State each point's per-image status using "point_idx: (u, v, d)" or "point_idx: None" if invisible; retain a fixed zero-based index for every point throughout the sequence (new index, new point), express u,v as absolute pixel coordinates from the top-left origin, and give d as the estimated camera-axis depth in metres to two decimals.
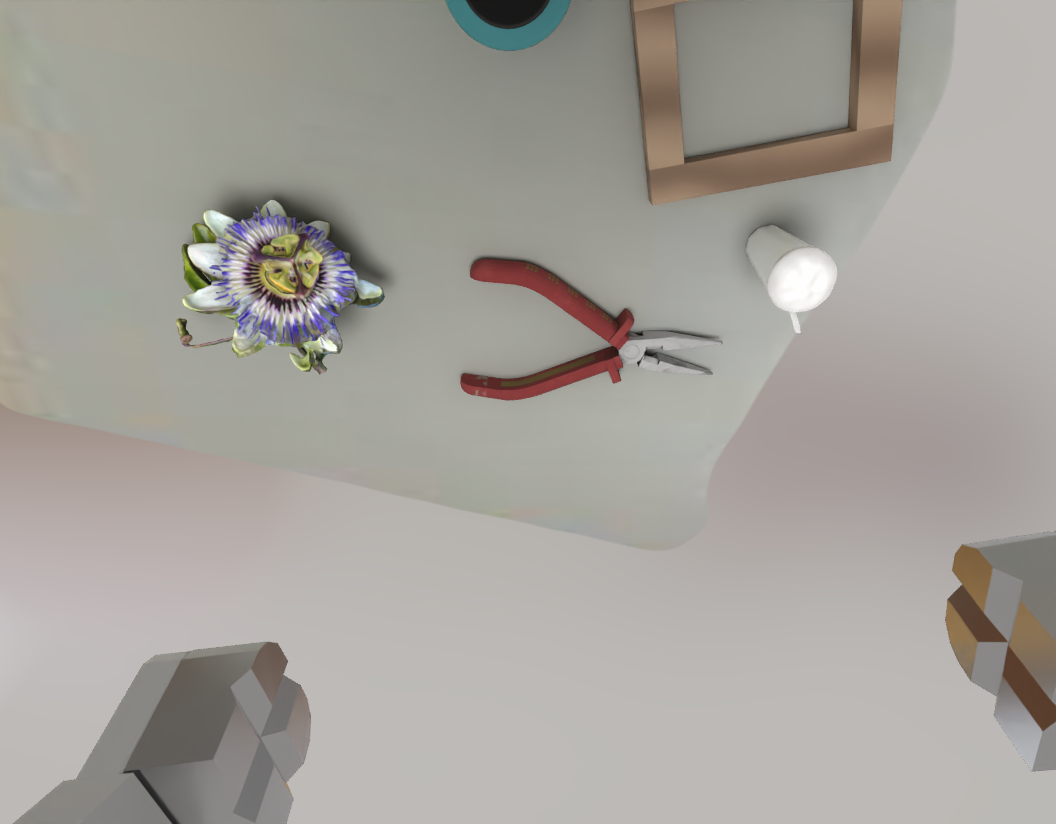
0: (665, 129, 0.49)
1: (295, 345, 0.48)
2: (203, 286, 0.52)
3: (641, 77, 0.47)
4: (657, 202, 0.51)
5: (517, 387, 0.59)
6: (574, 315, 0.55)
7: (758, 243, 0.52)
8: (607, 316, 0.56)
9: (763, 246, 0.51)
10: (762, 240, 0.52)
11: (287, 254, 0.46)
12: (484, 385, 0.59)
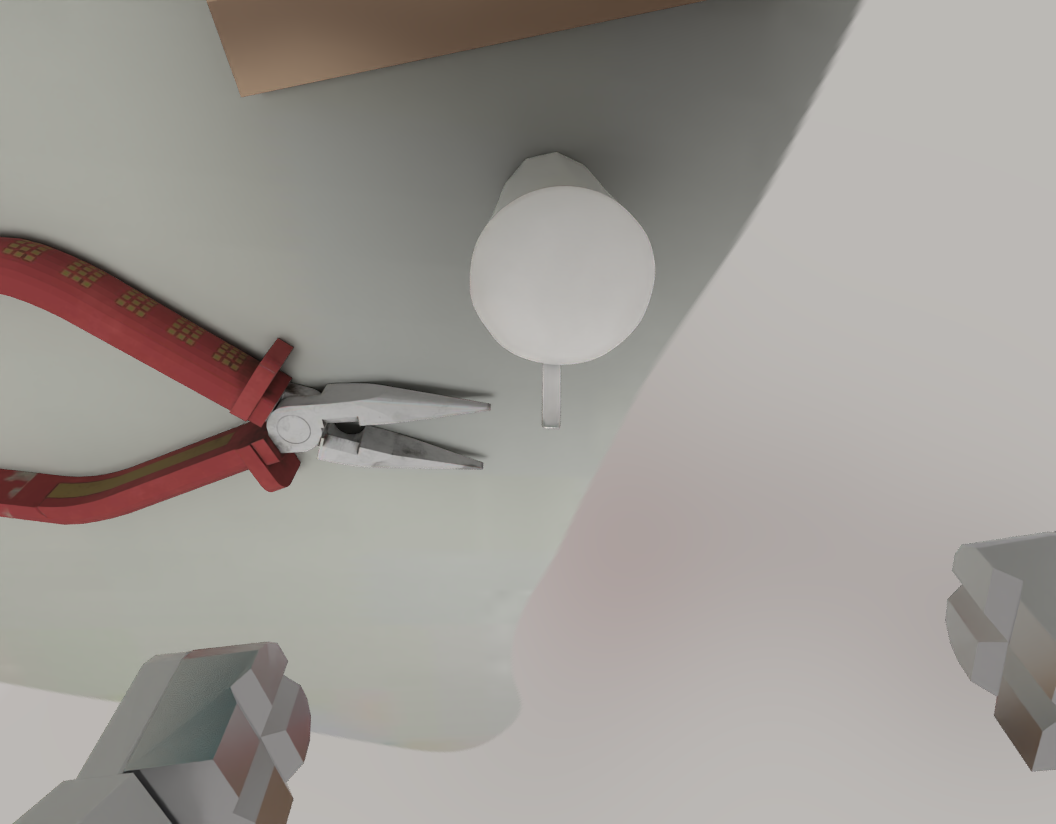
0: None
1: None
2: None
3: None
4: (251, 90, 0.21)
5: (77, 500, 0.28)
6: (139, 356, 0.25)
7: (504, 191, 0.22)
8: (229, 355, 0.26)
9: (504, 196, 0.21)
10: (512, 183, 0.21)
11: None
12: (7, 496, 0.28)
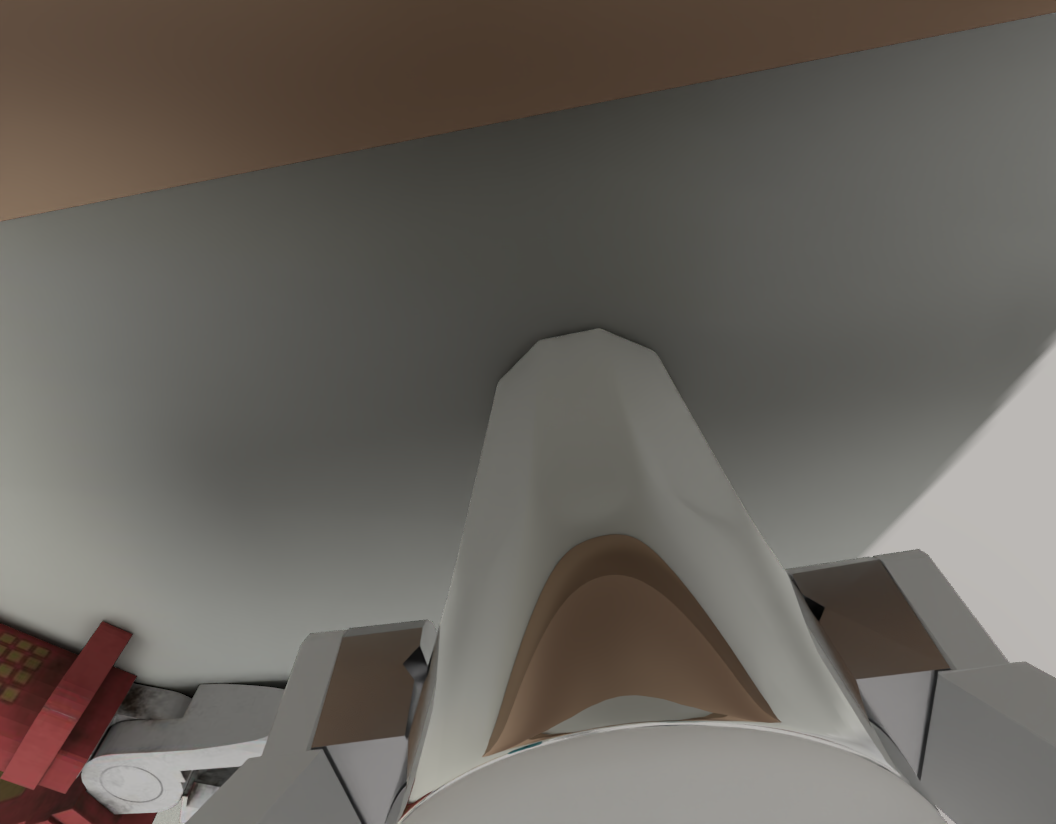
0: None
1: None
2: None
3: None
4: None
5: None
6: None
7: (491, 447, 0.10)
8: (1, 670, 0.14)
9: (488, 489, 0.09)
10: (507, 435, 0.09)
11: None
12: None
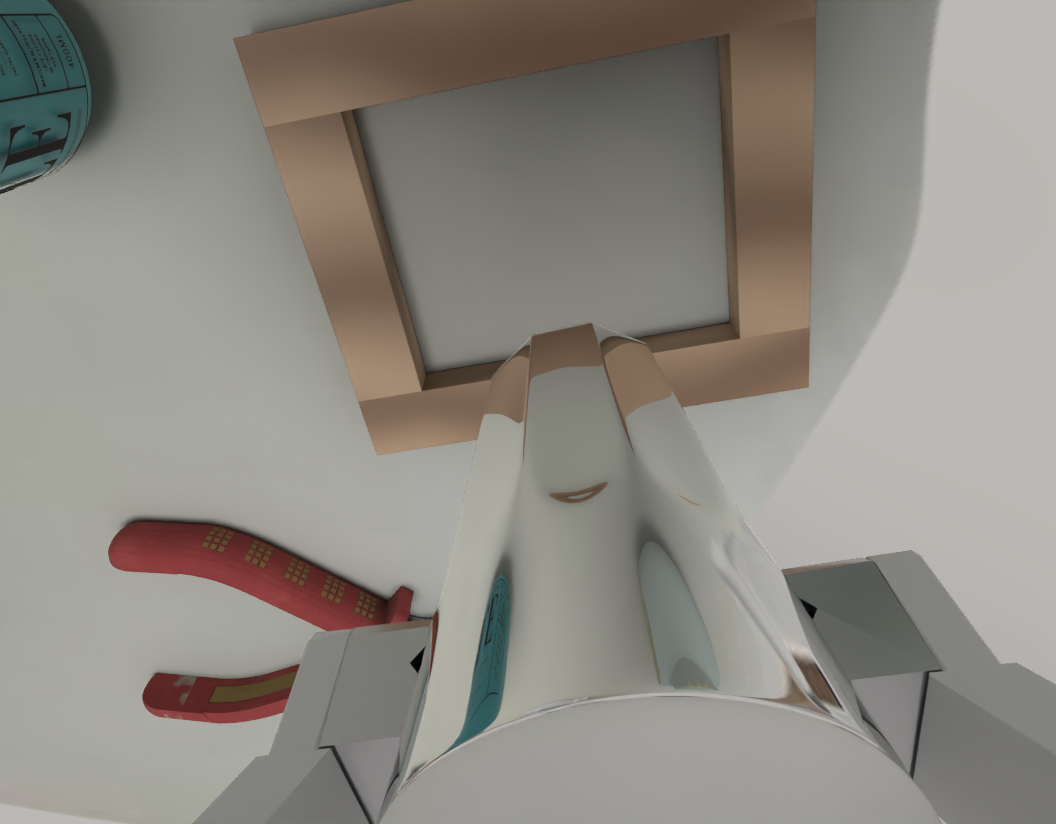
0: (374, 335, 0.26)
1: None
2: None
3: (307, 247, 0.24)
4: (385, 451, 0.28)
5: (234, 706, 0.35)
6: (300, 615, 0.32)
7: (485, 439, 0.10)
8: (365, 606, 0.33)
9: (482, 480, 0.09)
10: (501, 427, 0.10)
11: None
12: (179, 703, 0.35)
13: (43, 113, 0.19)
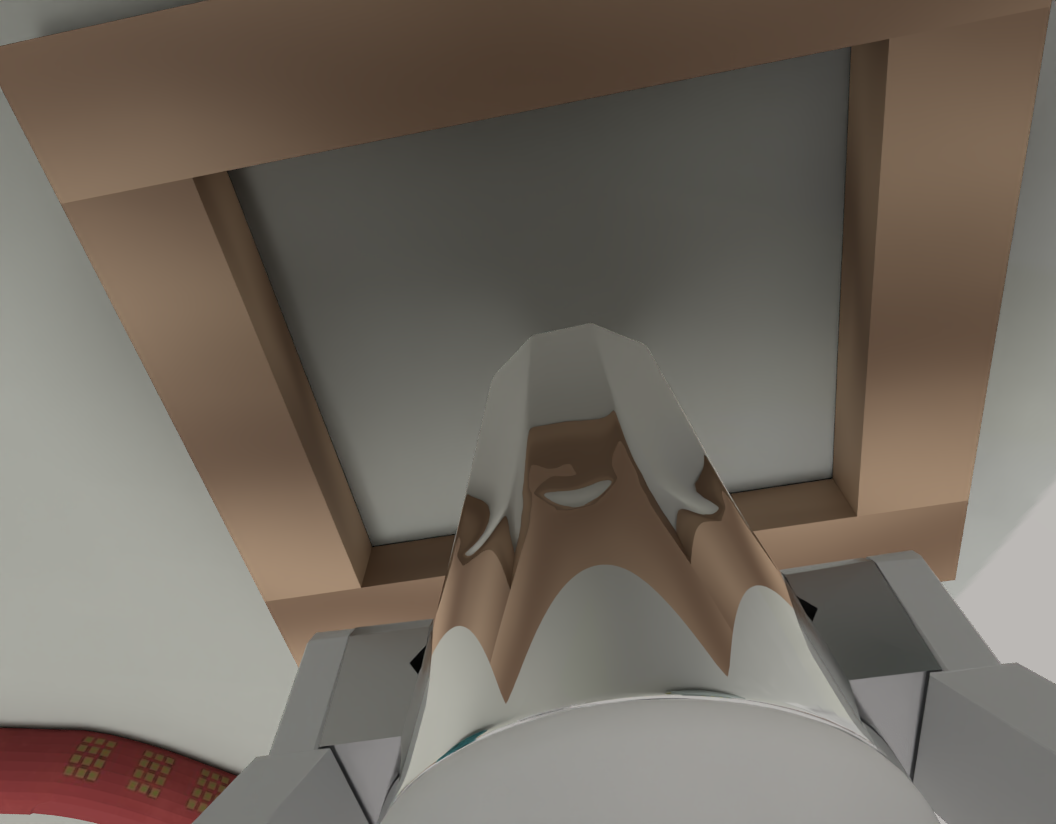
0: (281, 514, 0.16)
1: None
2: None
3: (159, 390, 0.15)
4: None
5: None
6: None
7: (486, 440, 0.10)
8: None
9: (482, 482, 0.09)
10: (501, 428, 0.10)
11: None
12: None
13: None
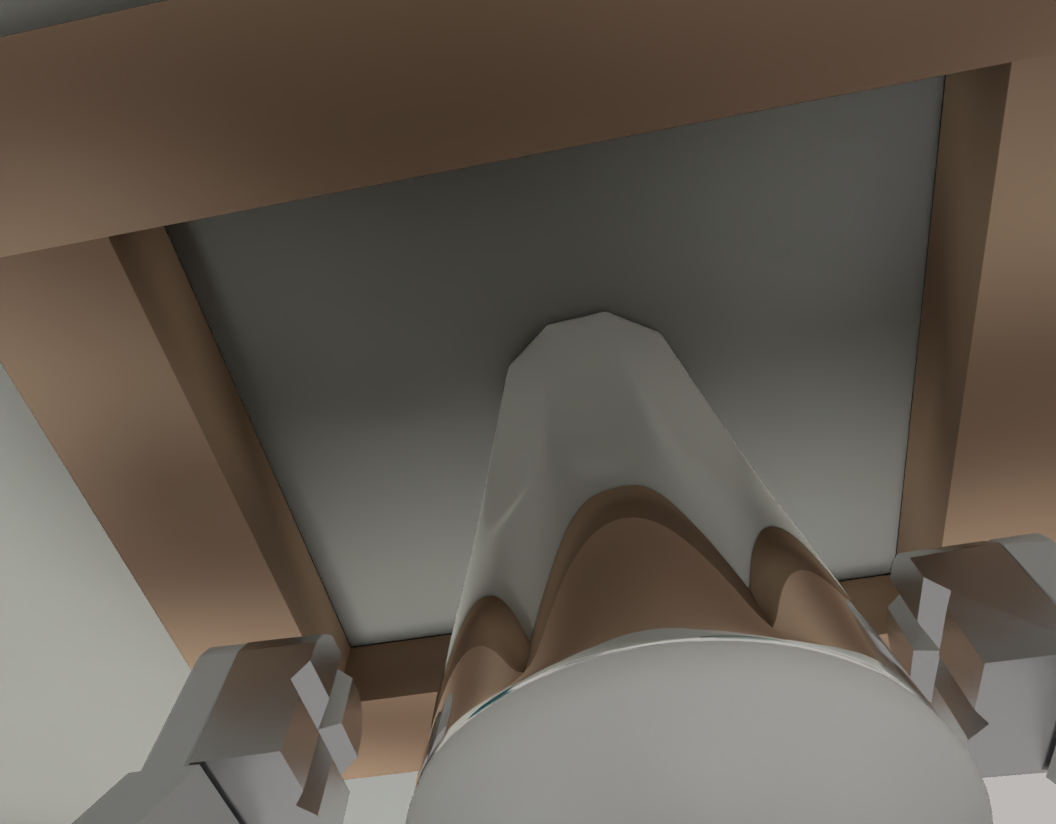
0: (238, 626, 0.13)
1: None
2: None
3: (82, 488, 0.12)
4: None
5: None
6: None
7: (506, 424, 0.10)
8: None
9: (504, 461, 0.09)
10: (521, 411, 0.10)
11: None
12: None
13: None
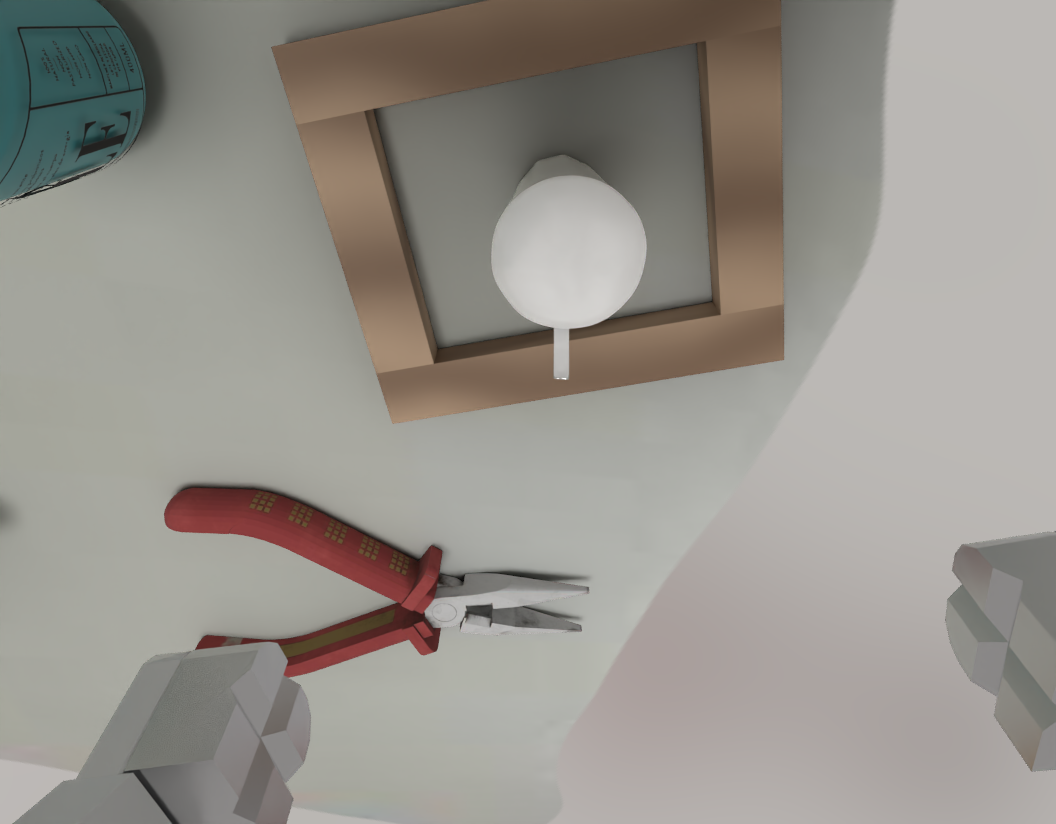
0: (391, 312, 0.28)
1: None
2: None
3: (332, 231, 0.27)
4: (400, 419, 0.31)
5: None
6: (339, 571, 0.34)
7: (519, 187, 0.25)
8: (399, 563, 0.35)
9: (518, 190, 0.24)
10: (525, 180, 0.25)
11: None
12: None
13: (109, 111, 0.22)
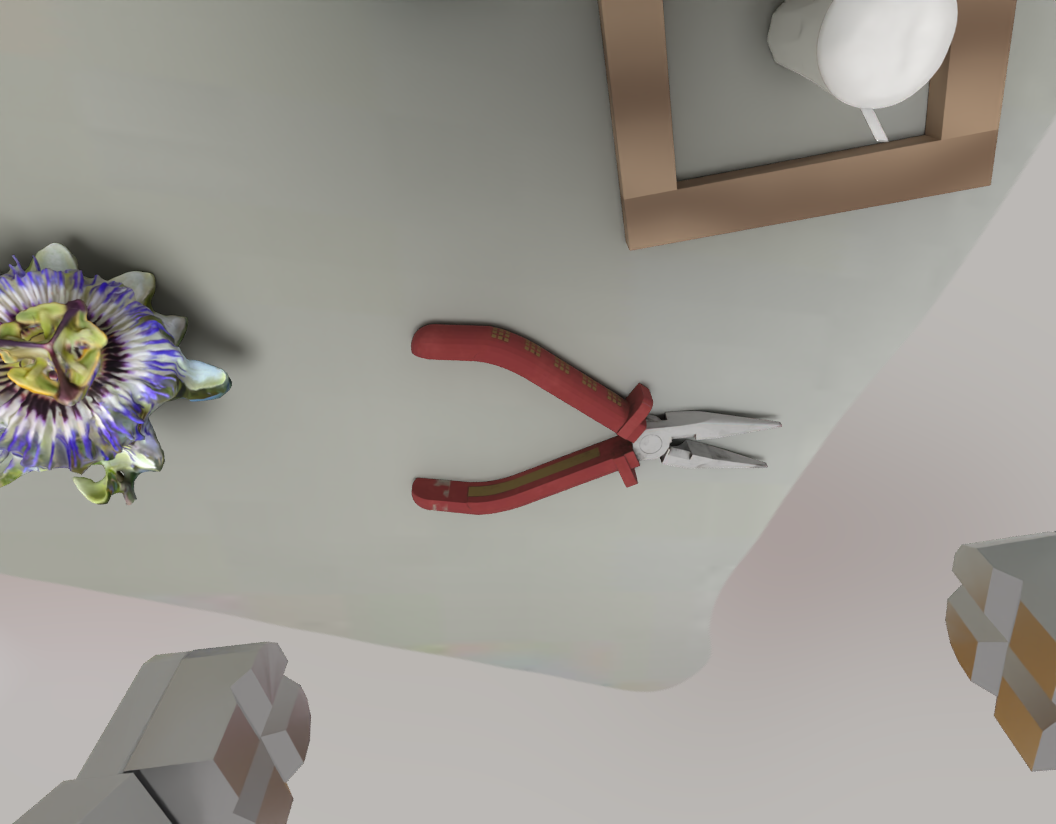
0: (647, 137, 0.32)
1: (73, 471, 0.31)
2: None
3: (609, 57, 0.30)
4: (637, 246, 0.34)
5: (491, 497, 0.42)
6: (566, 399, 0.38)
7: (792, 7, 0.28)
8: (614, 396, 0.39)
9: (803, 3, 0.27)
10: (799, 0, 0.28)
11: (45, 335, 0.29)
12: (444, 496, 0.42)
13: None
